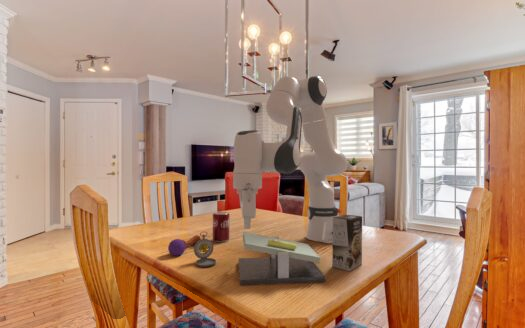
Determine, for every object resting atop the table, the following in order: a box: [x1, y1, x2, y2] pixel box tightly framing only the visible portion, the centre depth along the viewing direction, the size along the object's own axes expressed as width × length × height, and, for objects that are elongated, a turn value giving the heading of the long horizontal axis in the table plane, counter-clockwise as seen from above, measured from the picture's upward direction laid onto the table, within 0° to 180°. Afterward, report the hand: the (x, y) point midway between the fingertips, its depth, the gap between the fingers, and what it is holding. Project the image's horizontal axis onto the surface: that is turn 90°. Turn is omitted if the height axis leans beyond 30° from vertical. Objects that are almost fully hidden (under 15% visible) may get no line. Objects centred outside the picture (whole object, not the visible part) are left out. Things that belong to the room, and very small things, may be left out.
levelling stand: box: [238, 236, 326, 286], centre depth 87 cm, size 24×18×8 cm
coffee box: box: [331, 214, 363, 272], centre depth 93 cm, size 9×6×16 cm
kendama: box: [167, 234, 202, 257], centre depth 110 cm, size 6×6×20 cm
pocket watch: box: [193, 231, 217, 268], centre depth 95 cm, size 8×8×10 cm
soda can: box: [212, 211, 231, 243], centre depth 123 cm, size 7×7×12 cm
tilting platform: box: [242, 231, 321, 264], centre depth 88 cm, size 22×14×4 cm, turn 96°
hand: (247, 228), depth 86 cm, fingers closed
